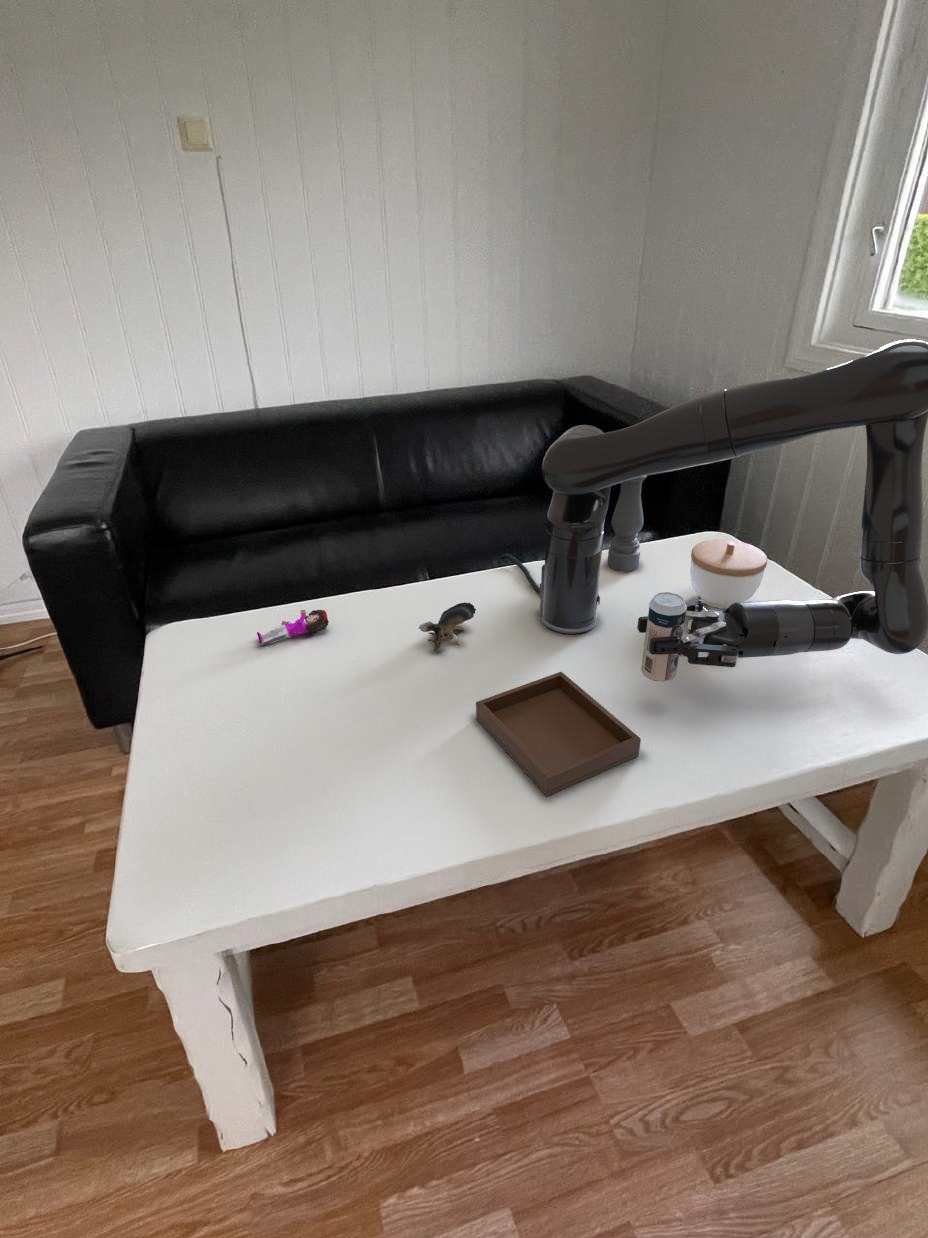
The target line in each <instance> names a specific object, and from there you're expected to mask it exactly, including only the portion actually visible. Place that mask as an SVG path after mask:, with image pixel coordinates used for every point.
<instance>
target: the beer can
mask: <svg viewBox="0 0 928 1238" xmlns="http://www.w3.org/2000/svg"><path fill="white" fill-rule="evenodd" d="M685 602H686V601H685V599H684V597H682V596H681V595H679V594H678V593H673V592H670V591H665V592H658V593H657V594H655V595H653V597H652V599H651V600H650V601H649V603H648V614H647V616H648V621H647V629H646V633H645V638H644V644H643V645H644V646H643V651H642V661H641V667H640V672H641V673H642V675H643V676H644V677H645V678H647V679H649V680H651V681H654V682H660V683H663V682H668V681H671V680H673V679H674V678H676V676H677V670H678V665H679V659H680V655H679V654H664V655H658V654H655V655H652V654H651V653H650V652H649V641H650V639H651V638H658V637H675V636H678V638H679V640H680V639H681V637H683V636H682V634H683V628H684V621H685V615H686V610H687V606H686V604H685Z"/></svg>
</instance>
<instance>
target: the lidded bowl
mask: <svg viewBox="0 0 928 1238" xmlns="http://www.w3.org/2000/svg"><path fill="white" fill-rule="evenodd" d="M690 558H691V559H690V566H689V577H690V578H689V579H690V582H691V586H692V588H693V590H694V592H695V593H696V595H698V597H699V599H700V600H703V601H704V605H705V604H706V605H707V606H709V607H712V608H715V609H720V610H721V609H722V610H726V609H727V608H728V607H729V606H730V605H731V604H733V603H737V602H748V601H749V600H750V599H751V598H752V597H753V596H754V595H755V594H756V592H757V591H758V590H759V587H760V585H761V583H762V580H763V577H764V574H765V571H766V568H767V565H768V556H767V554H766V553H765V552H764V551H763V550H761V549H760V548H758V547H756V546H754V545H752V544H750V543H746V542H743V541H737V540H731V539H708V540H705V541H701V542H698V543H696V544H695V545H694V546H693V547H692V550H691V554H690Z"/></svg>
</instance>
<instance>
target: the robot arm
mask: <svg viewBox="0 0 928 1238" xmlns="http://www.w3.org/2000/svg"><path fill="white" fill-rule="evenodd" d="M927 424H928V342H925V341H923V340H916V339H906V340H905V339H904V340H898V341H894V342H891V343H888V344H886V345H884V346H882V347H880V348H879V349H878V350H876V351H873V352H872V353H869V354H866V355H864V356H861V357H858V358H856V359H853V360H851V361H848V362H845V363H842V364H839V365H837V366H834V367H830V368H827V369H825V370H821V371H818V372H815V373H809V374H806V375H801V376H795V377H788V378H779V379H771V380H764V381H758V382H757V381H756V382H753V383H747V384H743V385H738V386H734V387H728V388H727V389H722V390H718V391H714V392H711V393H710V392H709V393H708V394H704V395H699V396H696V397H694V398H691V399H689V400H686V401H683V402H681V403H679V404H676V405H674V406H672V407H670V408H667V409H665V410H663V411H661V412H659V413H657V414H655V415H652V416H650V417H649V418H646V419H645V420H642V421H640V422H637V423H636V424H635V423H634V424H633V425H631V426H628V427H625V428H621V429H617V430H613V431H608V432H604V431H603V430H602V429H600V428H598V427H597V426H593V425H589V424H579V425H575V426H573V427H571V428H569V429H567V430H566V431H564V432H563V433H562V434H561V435H560V436H559V437H558V438H556V440H555V441H554V442H553V443H552V444H551V445H550V446H549V448H548V449H547V451H546V452H545V455H544V457H543V459H542V464H541V474H542V475H541V476H542V478H543V481H544V483H545V484H546V485H547V486H548V488H549V489H551V490H552V491H553V492H552V497H551V501H550V503H549V507H548V510H547V514H546V521H545V523H546V524H545V526H546V527H545V549H544V551H545V552H544V564H542V566H541V573H540V574H541V575H540V577H541V578H540V581H541V582H540V583H539V585H538V584H537V582H536V581H535V579H534V578H533V577H532V575H531V573H530V571H529V569H528V568H527V567H526V566H525V565H524V564H523V563H522V562H521V561H520V560H519V559H518V558H516V557H514V555H512V554H510V553H503V554H501V555H499V557H498V559H500V560H504V559H507V560H510V561H511V562H512V563H513V564H515V566H516V567H518V568H519V569H520V570H521V571H522V572H523V574H524V576H525V578H526V579H527V581H528V583H529V584H530V586H531V587H532V588H533V590H534V591H535V592H536V593H538V595H539V599H540V603H539V604H540V605H539V614H540V615H541V622H542V623H543V625H544V626H545V627H546V628H548V629H549V630H551V631H554V632H556V633H559V634H560V633H561V634H567V635H573V634H574V635H575V634H576V635H577V634H582V633H586V632H588V631H590V630H593V628H594V627H595V626H596V624H597V620H598V616H597V611H598V605H600V604H601V603H600V602H601V597H600V595H599V591H600V589H599V588H600V579H601V568H602V567H601V566H602V557H603V556H602V555H603V553H602V552H603V544H604V543H603V540H604V532H605V531H604V530H605V521H606V518H607V514H608V510H609V505H610V499H611V498H610V497H611V489H612V488H611V487H613V486H614V485H617V484H621V482H624V481H627V480H630V479H634V478H638V477H642V476H646V475H647V476H651V475H657V474H664V473H669V472H675V471H679V470H684V469H689V468H693V467H698V466H703V465H710V464H714V463H719V462H723V461H727V460H731V459H737V458H740V457H744V456H749V455H751V454H755V453H759V452H762V451H766V450H770V449H773V448H776V447H779V446H783V445H786V444H789V443H792V442H795V441H799V440H801V439H804V438H807V437H810V436H813V435H817V434H821V433H825V432H831V431H836V430H843V429H850V428H855V427H863V426H865V431H866V432H865V433H866V470H865V471H866V473H865V483H864V496H863V502H862V512H861V523H860V536H859V538H860V539H859V562H858V563H859V566H858V567H859V571H860V574H861V575H862V577H863V578H864V579H865V580H866V581H867V582H868V583H869V584H870V585H871V587H872V590H865V591H856V592H852V593H847V594H843V595H839V596H835V597H833V598H830V599H811V600H808V599H807V600H789V599H776V600H759V601H758V600H757V601H745V602H737V603H733V604H731V605H730V606H729V607H728V608H727V609H724V610H723V611H722V610H715V609H709V610H708V609H707V608H705V607H704V605H705V603H704V601H703V600H701V599H700V598H698V599H693V600H688V601H684V602H685V604H686V606H687V610H686V615H685V621H684V628H683V634H682V637H681V639H680V640H679V638H678V636H675V637H658V638H651V639H650V641H649V652H650V653H651V654H652V655H655V654H658V655H664V654H679V657H682V658H687V663H688V664H690V665H700V666H711V667H722V668H723V667H724V668H735V667H736V665H737V661H738V659H743V658H744V659H745V658H762V657H776V656H777V657H778V656H779V657H780V656H789V655H794V654H795V655H796V654H799V653H800V654H801V653H812V652H813V653H814V652H830V651H835V650H839V649H842V648H843V647H845V646H846V645H847V644H849V642H850V641H851V640H855V639H856V640H863V641H865V642H866V643H869V644H871V645H873V646H874V647H876V648H878V649H880V650H882V651H883V652H885V653H889V654H893V655H905V654H909V653H911V652H913V651H914V650H916V649H917V648H918V647H920V645H921V644H922V643H923V642H924V640H925V638H926V637H927V635H928V595H927V592H926V590H927V589H926V584H925V581H924V580H925V579H924V577H923V573H922V570H921V562H922V552H923V539H924V521H925V519H924V517H925V515H924V513H925V512H924V509H925V508H924V507H925V506H924V486H923V485H924V484H923V482H924V481H923V455H924V442H925V434H926V430H927V429H926V428H927ZM647 476H646V477H647ZM647 621H648V615H646V616H640V617H639V618H638V619H637V627H636V629H637V631H638V632H639V633H640V634H646V629H647ZM690 621H691V624H690V628H688V627H689V622H690ZM706 654H707V656H703V655H706Z"/></svg>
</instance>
